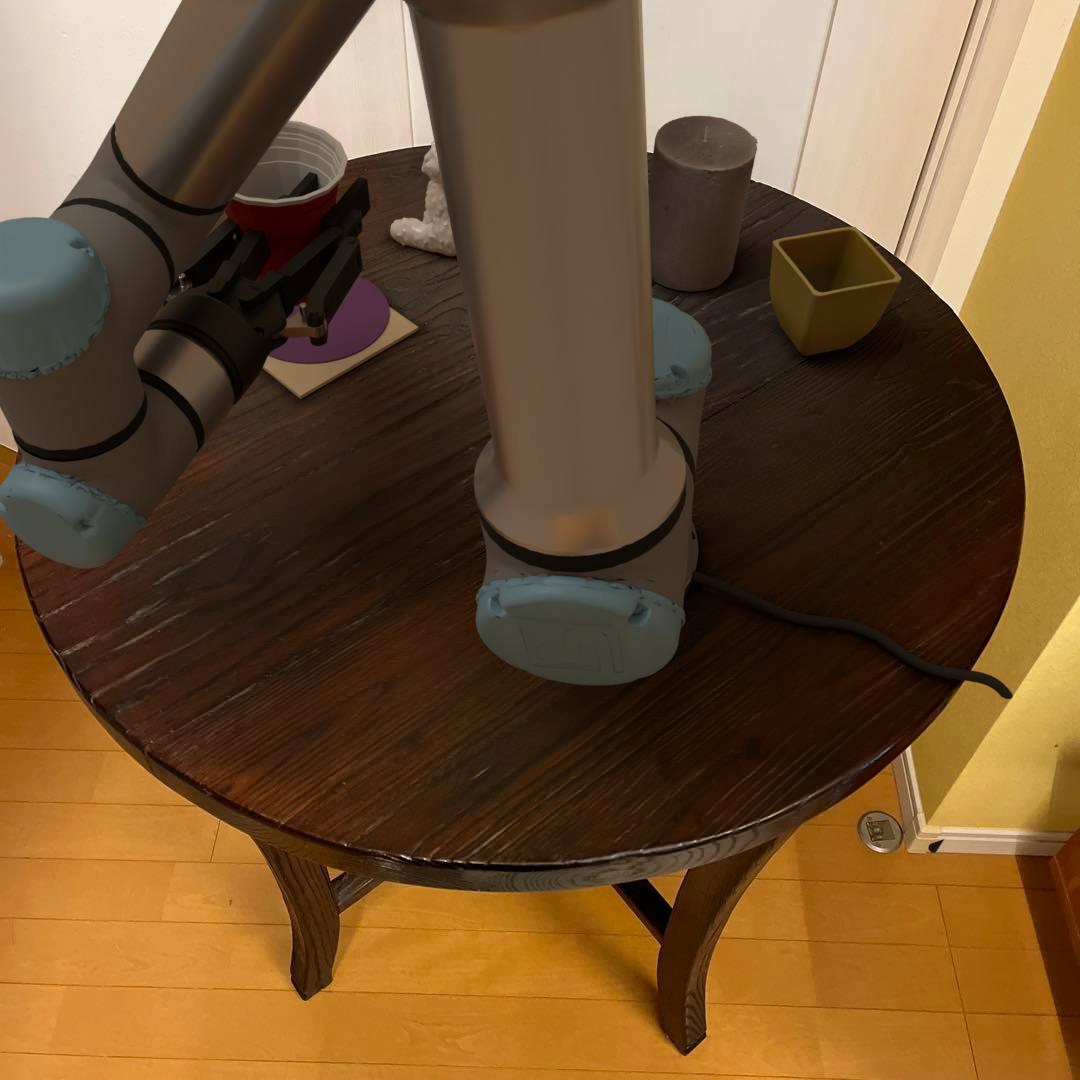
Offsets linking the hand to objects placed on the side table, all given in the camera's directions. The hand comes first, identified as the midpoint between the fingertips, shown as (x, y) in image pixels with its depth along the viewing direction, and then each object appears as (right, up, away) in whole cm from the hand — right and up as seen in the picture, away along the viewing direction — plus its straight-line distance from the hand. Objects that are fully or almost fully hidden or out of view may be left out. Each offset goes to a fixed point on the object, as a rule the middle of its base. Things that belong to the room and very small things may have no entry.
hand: (342, 188), depth 85 cm
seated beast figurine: (+6, +3, +26) cm, 27 cm away
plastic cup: (-4, -7, +3) cm, 9 cm away
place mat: (-6, -7, +17) cm, 20 cm away
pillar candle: (+31, 0, +25) cm, 40 cm away
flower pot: (+42, -9, +18) cm, 47 cm away
